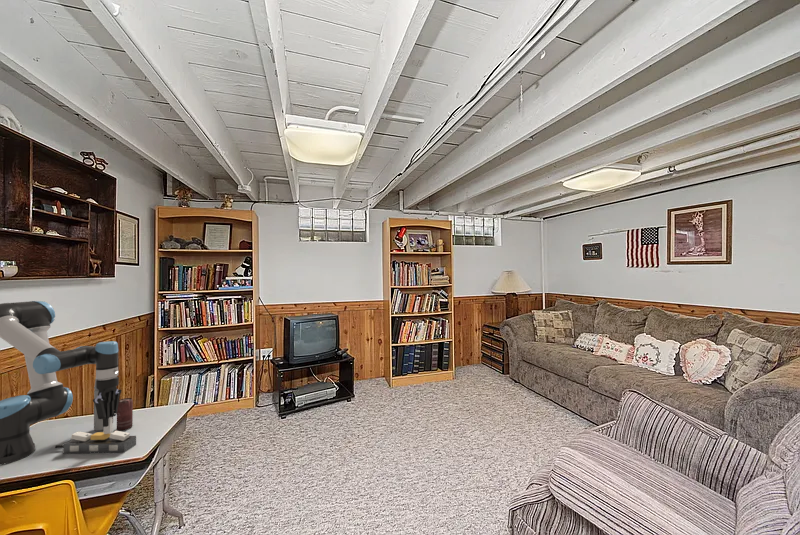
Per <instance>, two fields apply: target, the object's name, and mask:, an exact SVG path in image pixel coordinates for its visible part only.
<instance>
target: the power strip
mask: <svg viewBox="0 0 800 535" xmlns="http://www.w3.org/2000/svg"><path fill="white" fill-rule="evenodd" d="M136 445H137V435H129V438H127V439H125V440H124V441H122V440H117V439H112V438H110V437H109V438H107V439H105V440H90V439H89V440H87V441H80V440H75V439H70V440H69V441H67V442H65V443H63V444H56V445H55V446H54V448H55V449H62V450H63V452H62V453H63V455H76V454H77V455H79V454H82V455H83V454H84V455H85V454H86V455H87V454H88V455H89V454H125V453H126V452H128V451H129V450H130V449H132V448H133V447H135V446H136Z"/></svg>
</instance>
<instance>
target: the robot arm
mask: <svg viewBox="0 0 800 535" xmlns="http://www.w3.org/2000/svg"><path fill="white" fill-rule="evenodd" d="M55 312H56V311H55V309H54V308H53V306H52V304H50V303H48V302H46V301H41V300H40V301H39V300H31V301H18V302H3V303H0V338H1V339H2V340H3V341H5V342H6V343H7V344H9V345H10V346H12V347H13V348H14V349H16V350H18V351H19V352H21V353H22V354H23V355H24V360H25V366H26V371H27V374H28V375H27V376H28V380H29V385H30V389H29V391H28V392H27V393H26V395H25V394H20V395H15V396H10V397H8V398H4V399H1V400H0V464H2V465H5V464H4V463H6V464H9V463H13V461H14V462H16V461H19V460H22V459H25V458H26V457H29V456H30V455H32V454H33V453H35V451H36V444H35V443H34V440H33V437H32V436H31V433H30V432H31V431H30V425H33V424H37V423H39V422H42V421H45V420H48V419H51V418H55V417H58V416H60V415H62V414H64V413H66V412H67V411H69V409H70V407H72V404H73V400H74V399H73V397H74V396H73V392H72V390H71V389H70V388H69V387H65V386H64V384H63V383H62V382H60V381H58V378H57V372H60V371H64V370H67V369H72V368H73V369H74V368H76V367H81V366H86V365H95V379H98V380H97V381H96V388H97V389H98V390H99V392H98V397H97V398H96V399H94V398H93V399H92V402H93V404H94V403H95V407H96V411H97V415H98V419H103V427H104V430H103V432H104V434H110V433H113V432H114V427H113V426H114V425H113V424H114V417H117V414H116V413H117V411H118V404H119V400H120V396H121V393H122V389H118V386H119V385H120V384H119V383H120V382H119V381H120V380H119V377H118V376H119V344H118V342H117V341H113V340H111V341H109V340H108V341H100V342H98V343H96V344H95V345H94V346H89V345H84V346H78V347H76V348H74V349H67V350H63V351H62V350H61V351H60V350H59V349H58V348H56V347H55V346H53V345H51V344H50V339H49V335H48V330H49V329H50V328H51V324H53V323H54V321H56V320H55V318H56V313H55Z"/></svg>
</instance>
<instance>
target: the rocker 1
mask: <svg viewBox="0 0 800 535" xmlns="http://www.w3.org/2000/svg"><path fill="white" fill-rule="evenodd" d="M91 435H93V433H91V432H90V433H89V432H84V431H76V432H74V433H72V434H71V437H70V440H73V439H75V440H80V441H87V440H89V439H90V438H91Z"/></svg>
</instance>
